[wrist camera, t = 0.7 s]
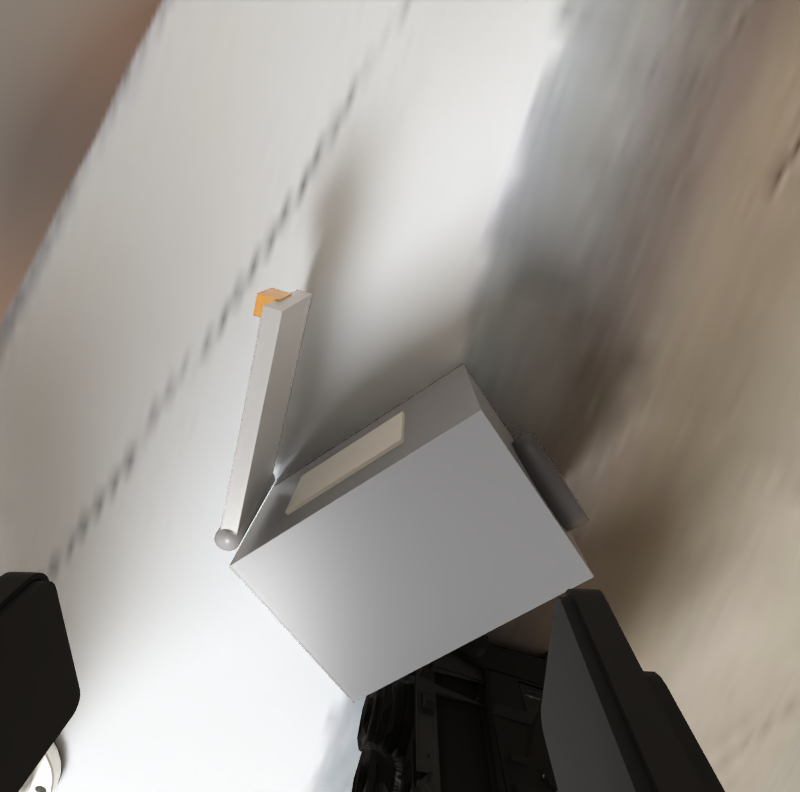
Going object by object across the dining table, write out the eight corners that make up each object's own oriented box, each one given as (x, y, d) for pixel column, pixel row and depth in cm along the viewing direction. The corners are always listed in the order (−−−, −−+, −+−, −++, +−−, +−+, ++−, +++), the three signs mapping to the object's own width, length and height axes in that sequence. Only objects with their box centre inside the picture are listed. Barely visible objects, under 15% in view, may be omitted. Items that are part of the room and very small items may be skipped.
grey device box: (366, 598, 34) (353, 702, 26) (271, 484, 32) (226, 563, 24) (567, 484, 31) (617, 564, 24) (479, 349, 29) (503, 390, 21)
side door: (272, 489, 31) (237, 553, 24) (243, 481, 31) (200, 544, 24) (316, 292, 27) (287, 309, 21) (283, 283, 27) (244, 298, 21)
